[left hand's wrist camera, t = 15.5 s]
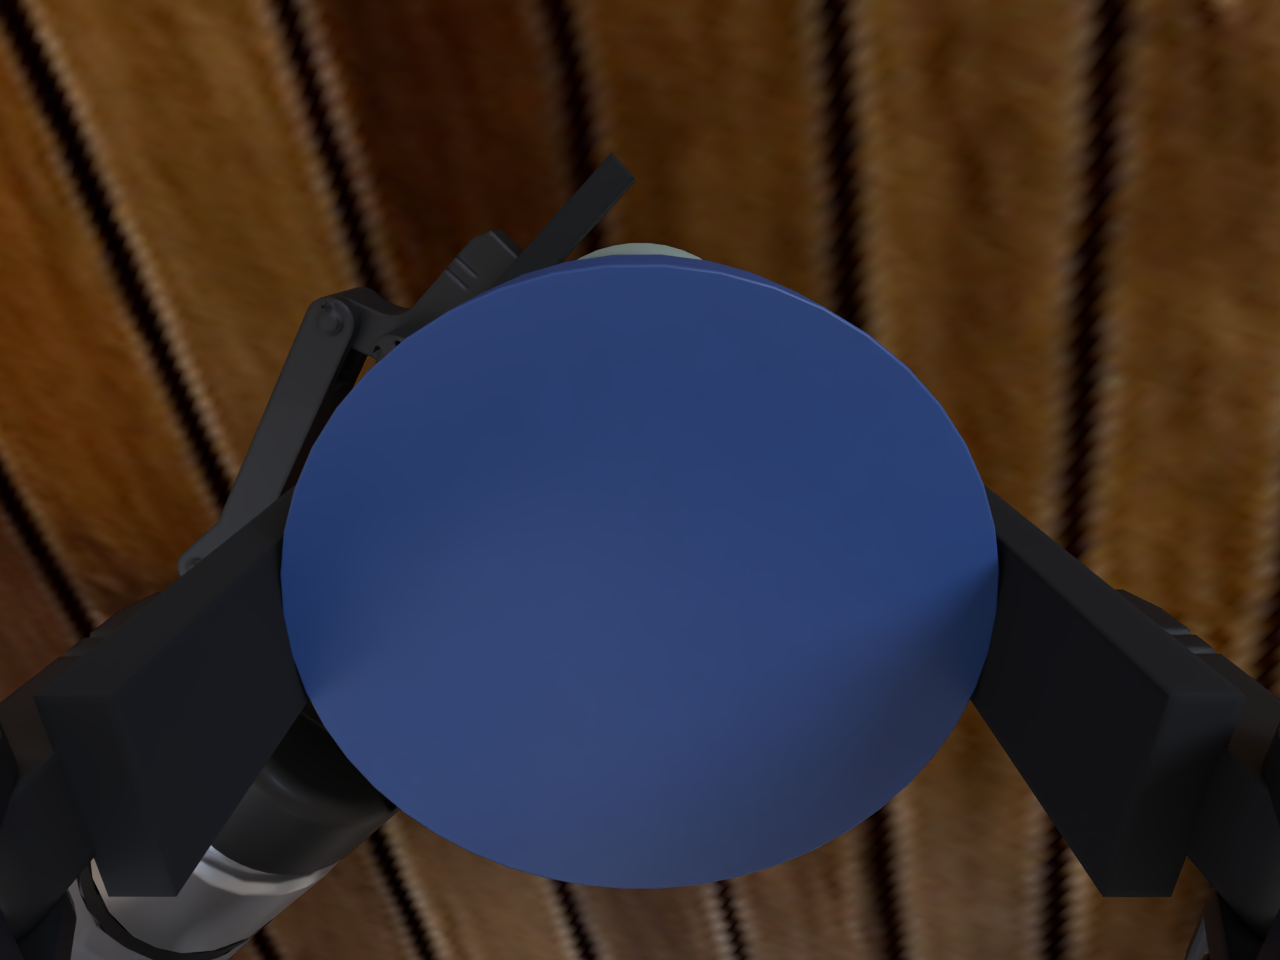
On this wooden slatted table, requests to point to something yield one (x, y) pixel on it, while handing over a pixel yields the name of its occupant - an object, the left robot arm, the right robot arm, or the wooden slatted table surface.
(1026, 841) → the wooden slatted table surface
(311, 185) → the wooden slatted table surface
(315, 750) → the right robot arm
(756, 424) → the lid
